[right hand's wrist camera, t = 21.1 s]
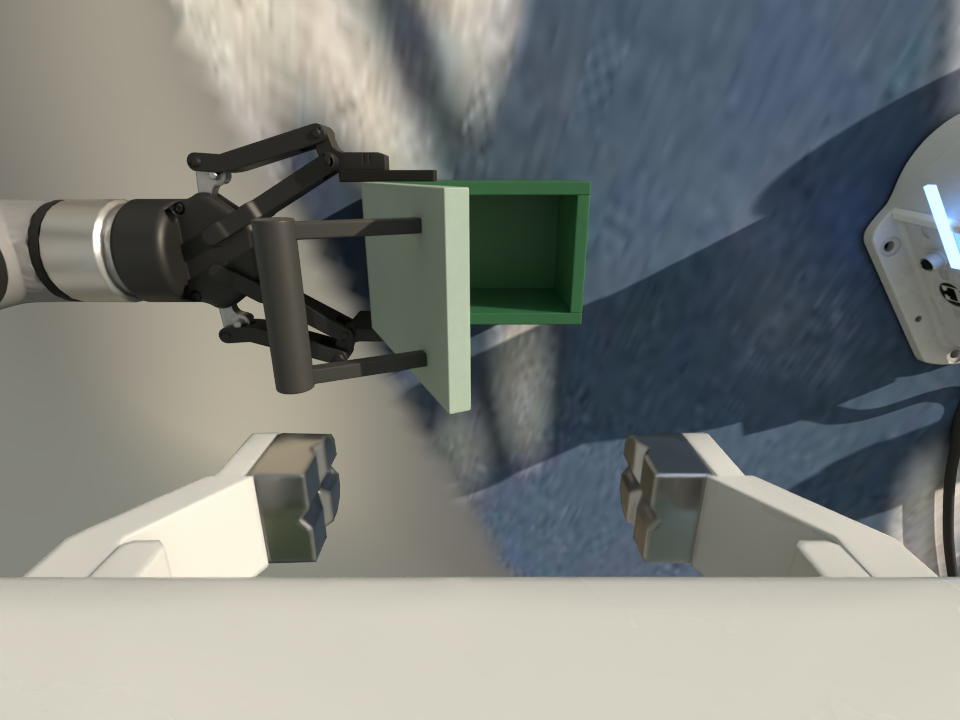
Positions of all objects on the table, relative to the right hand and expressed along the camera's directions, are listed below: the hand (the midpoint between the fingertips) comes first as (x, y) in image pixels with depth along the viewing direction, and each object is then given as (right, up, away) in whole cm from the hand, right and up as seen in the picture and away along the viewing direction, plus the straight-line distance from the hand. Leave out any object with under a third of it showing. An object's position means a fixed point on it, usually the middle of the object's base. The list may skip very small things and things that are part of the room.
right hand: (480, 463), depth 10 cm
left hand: (-3, +10, +28) cm, 30 cm away
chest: (0, +13, +35) cm, 37 cm away
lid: (-4, +7, +18) cm, 20 cm away
